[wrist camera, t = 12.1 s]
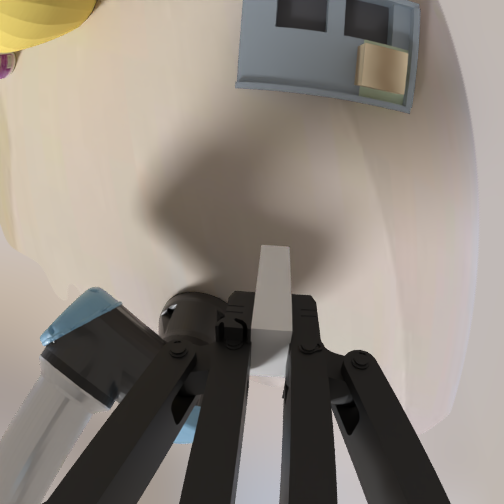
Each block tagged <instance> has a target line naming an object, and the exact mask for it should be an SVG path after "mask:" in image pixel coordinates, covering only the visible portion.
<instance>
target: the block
mask: <svg viewBox="0 0 504 504" xmlns="http://www.w3.org/2000/svg"><path fill="white" fill-rule="evenodd" d="M407 65H408V53H405V52H401V51H398V50H394V49H390V48H386V47H382V46H378V45H374V44H369V43H364V44H362V45H360V46H358V51H357V62H356V72H355V82H354V85H357V86H362V87H367V88H372V89H377V90H381V91H385V92H390V93H394V94H402V95H404V92H405V84H406V75H407Z"/></svg>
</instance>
